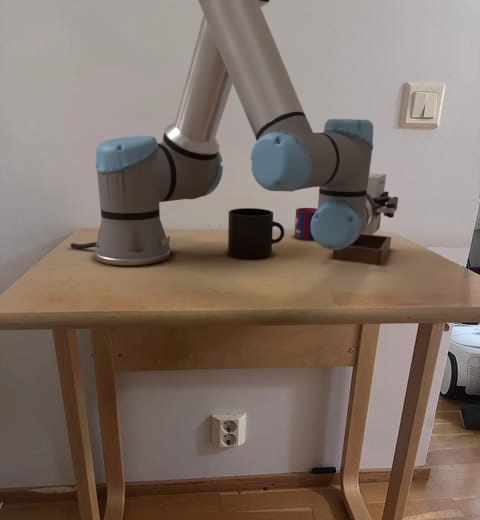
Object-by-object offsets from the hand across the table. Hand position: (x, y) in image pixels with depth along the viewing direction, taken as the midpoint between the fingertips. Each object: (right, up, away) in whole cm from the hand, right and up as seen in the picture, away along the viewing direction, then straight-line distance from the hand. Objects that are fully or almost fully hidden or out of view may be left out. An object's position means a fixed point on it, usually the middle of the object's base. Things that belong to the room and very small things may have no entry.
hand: (372, 196), depth 107 cm
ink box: (-2, -8, -2) cm, 9 cm away
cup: (-11, -7, +15) cm, 19 cm away
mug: (-26, -13, -2) cm, 29 cm away
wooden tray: (-2, -13, 0) cm, 13 cm away
